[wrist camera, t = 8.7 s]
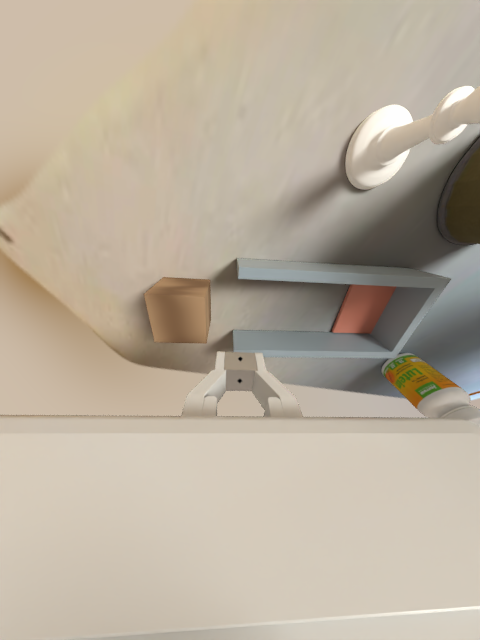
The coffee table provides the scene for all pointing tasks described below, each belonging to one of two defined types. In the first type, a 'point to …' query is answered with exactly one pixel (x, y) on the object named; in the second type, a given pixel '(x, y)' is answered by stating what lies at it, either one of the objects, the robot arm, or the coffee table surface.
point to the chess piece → (405, 135)
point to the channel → (346, 309)
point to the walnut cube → (179, 310)
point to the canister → (462, 201)
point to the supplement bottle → (429, 389)
